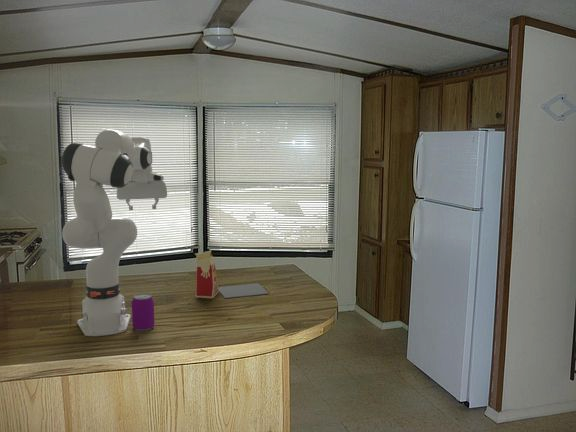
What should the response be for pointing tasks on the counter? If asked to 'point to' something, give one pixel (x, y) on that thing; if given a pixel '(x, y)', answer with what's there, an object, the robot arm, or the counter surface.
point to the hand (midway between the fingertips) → (142, 209)
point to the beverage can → (143, 312)
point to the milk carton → (206, 276)
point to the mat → (242, 290)
